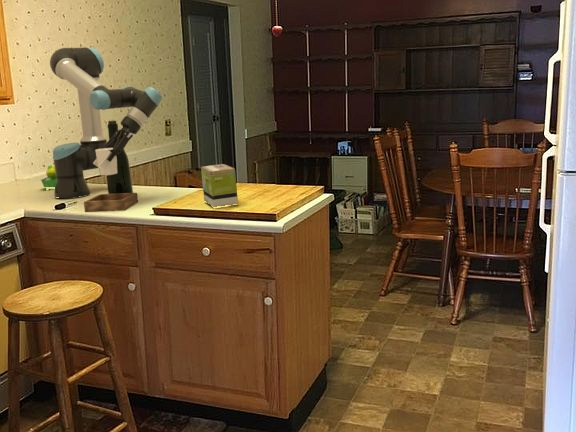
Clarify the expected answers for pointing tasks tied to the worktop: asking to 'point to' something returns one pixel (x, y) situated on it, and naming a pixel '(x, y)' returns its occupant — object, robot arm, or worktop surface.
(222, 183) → the tea box
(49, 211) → the worktop surface
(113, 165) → the white cup
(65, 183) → the robot arm
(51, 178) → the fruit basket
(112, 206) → the walnut box
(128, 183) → the wine bottle
